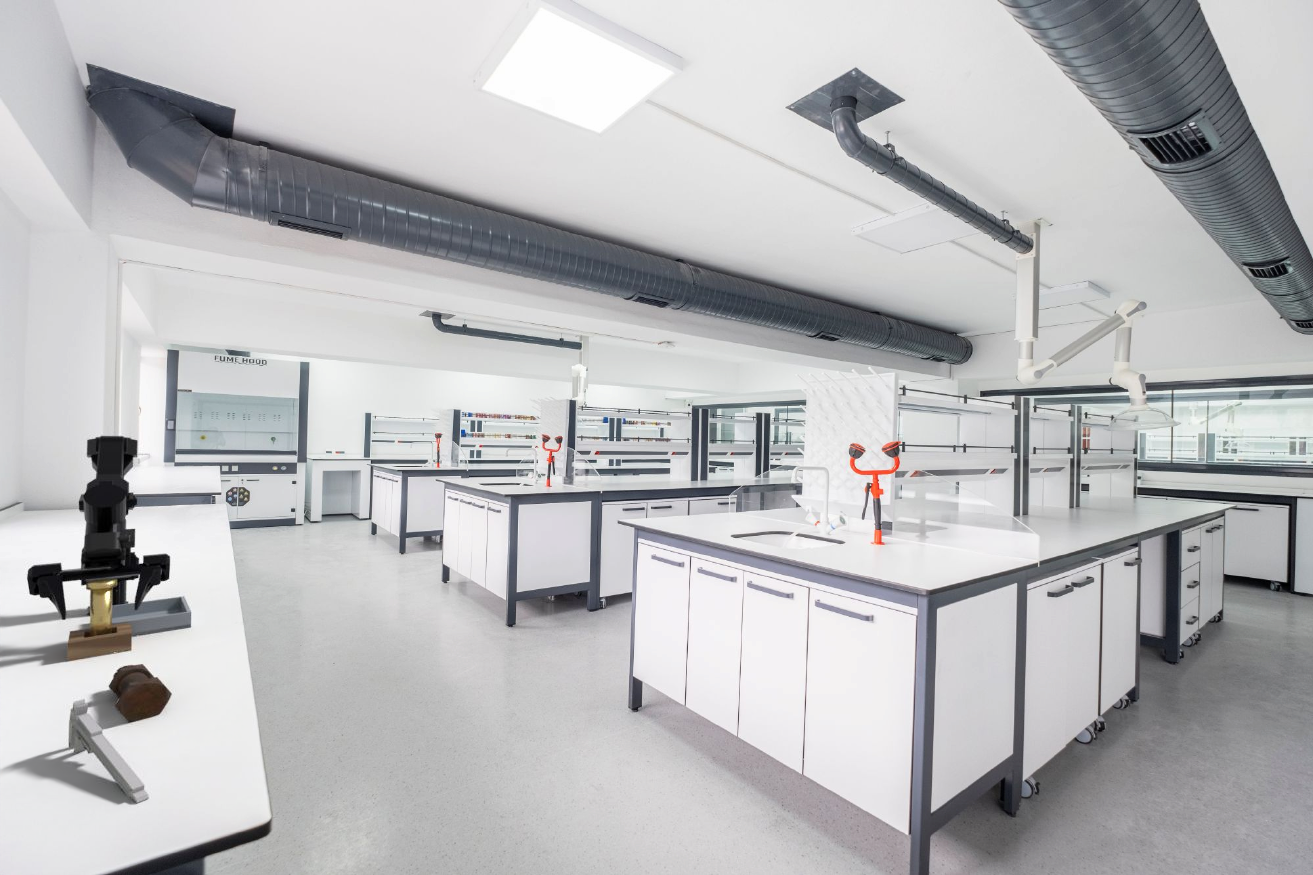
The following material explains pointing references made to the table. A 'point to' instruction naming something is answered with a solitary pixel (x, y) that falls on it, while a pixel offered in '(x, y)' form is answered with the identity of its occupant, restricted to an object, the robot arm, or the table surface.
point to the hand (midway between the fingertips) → (100, 613)
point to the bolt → (138, 693)
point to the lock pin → (101, 606)
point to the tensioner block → (99, 642)
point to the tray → (154, 615)
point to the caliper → (102, 751)
